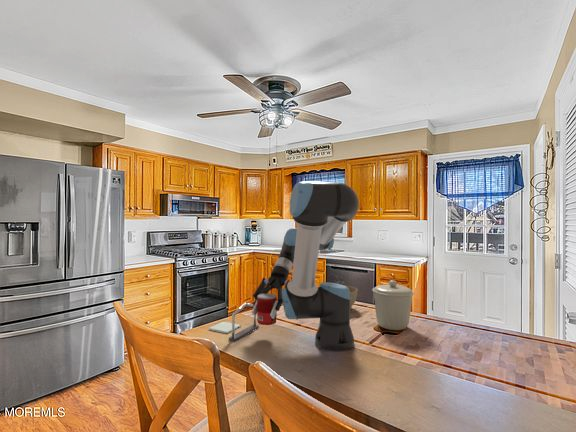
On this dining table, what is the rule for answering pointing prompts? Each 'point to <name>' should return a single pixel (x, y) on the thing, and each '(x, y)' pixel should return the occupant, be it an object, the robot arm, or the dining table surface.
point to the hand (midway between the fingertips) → (262, 315)
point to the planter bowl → (352, 295)
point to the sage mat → (223, 327)
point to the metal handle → (245, 331)
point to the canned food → (266, 309)
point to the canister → (393, 305)
